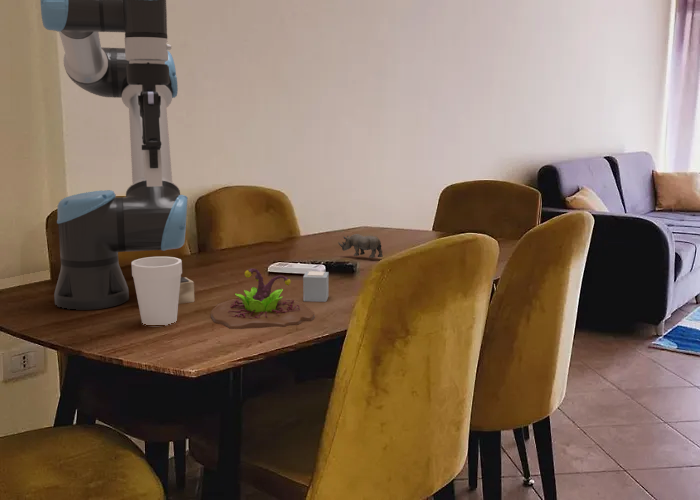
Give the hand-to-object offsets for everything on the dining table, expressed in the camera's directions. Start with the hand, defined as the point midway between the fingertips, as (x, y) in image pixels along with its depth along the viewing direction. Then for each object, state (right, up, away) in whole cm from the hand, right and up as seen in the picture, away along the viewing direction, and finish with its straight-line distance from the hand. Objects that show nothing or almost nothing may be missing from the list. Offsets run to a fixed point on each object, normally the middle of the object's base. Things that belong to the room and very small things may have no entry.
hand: (153, 182), depth 143 cm
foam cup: (0, -28, +5) cm, 28 cm away
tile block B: (+30, -24, +25) cm, 45 cm away
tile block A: (0, -24, +22) cm, 33 cm away
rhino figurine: (+40, -14, +72) cm, 83 cm away
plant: (+19, -27, +11) cm, 35 cm away
